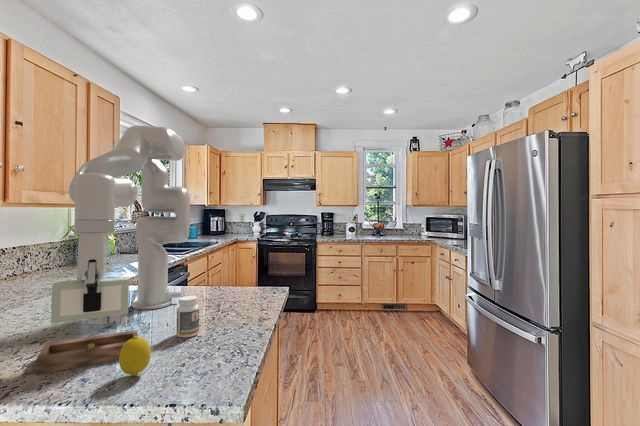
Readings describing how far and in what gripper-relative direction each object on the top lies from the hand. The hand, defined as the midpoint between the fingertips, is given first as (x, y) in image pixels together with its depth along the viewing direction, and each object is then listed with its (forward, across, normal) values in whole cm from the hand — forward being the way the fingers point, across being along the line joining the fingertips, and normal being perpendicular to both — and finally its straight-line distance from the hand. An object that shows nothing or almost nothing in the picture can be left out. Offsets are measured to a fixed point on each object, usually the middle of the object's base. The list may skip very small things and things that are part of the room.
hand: (92, 307), depth 74 cm
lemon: (+11, +15, +8) cm, 20 cm away
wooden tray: (+11, 0, 0) cm, 11 cm away
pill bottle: (+11, -4, +21) cm, 24 cm away
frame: (+2, 0, 0) cm, 2 cm away
